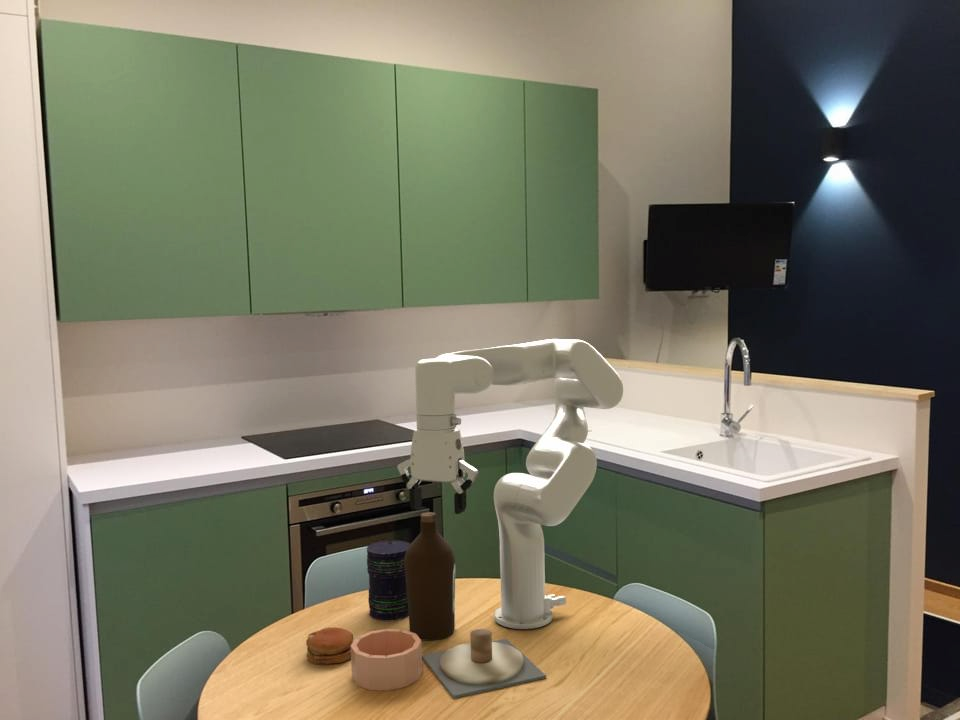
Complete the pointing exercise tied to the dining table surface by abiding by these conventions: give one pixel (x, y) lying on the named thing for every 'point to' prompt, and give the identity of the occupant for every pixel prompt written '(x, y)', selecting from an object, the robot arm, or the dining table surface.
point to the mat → (464, 689)
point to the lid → (481, 660)
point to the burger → (329, 645)
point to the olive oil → (430, 582)
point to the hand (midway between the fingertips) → (437, 510)
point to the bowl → (386, 659)
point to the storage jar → (387, 580)
